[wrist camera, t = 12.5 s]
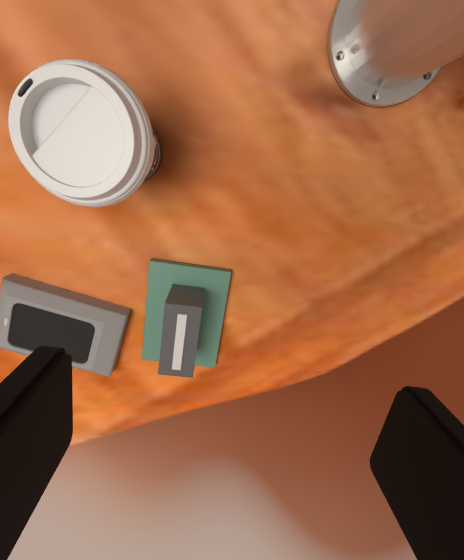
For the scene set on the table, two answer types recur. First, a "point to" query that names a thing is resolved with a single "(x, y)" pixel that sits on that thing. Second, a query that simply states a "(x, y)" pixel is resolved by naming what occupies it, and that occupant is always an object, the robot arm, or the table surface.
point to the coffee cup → (83, 133)
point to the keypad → (61, 323)
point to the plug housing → (180, 330)
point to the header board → (212, 309)
